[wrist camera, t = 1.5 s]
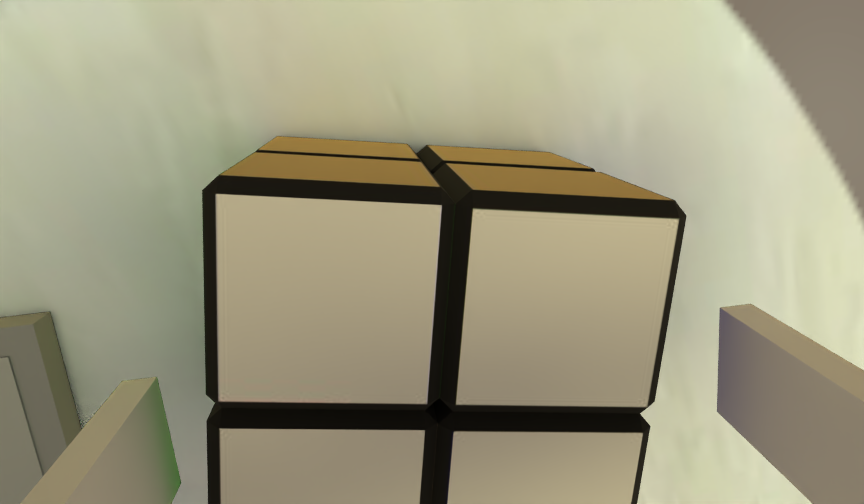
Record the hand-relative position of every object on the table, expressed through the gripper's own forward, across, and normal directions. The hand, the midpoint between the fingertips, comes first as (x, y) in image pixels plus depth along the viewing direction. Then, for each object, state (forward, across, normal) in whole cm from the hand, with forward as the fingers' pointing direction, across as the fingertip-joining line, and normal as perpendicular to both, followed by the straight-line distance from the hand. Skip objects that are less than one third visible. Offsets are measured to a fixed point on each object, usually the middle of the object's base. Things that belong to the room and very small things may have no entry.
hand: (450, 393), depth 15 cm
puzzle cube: (+9, 0, 0) cm, 9 cm away
